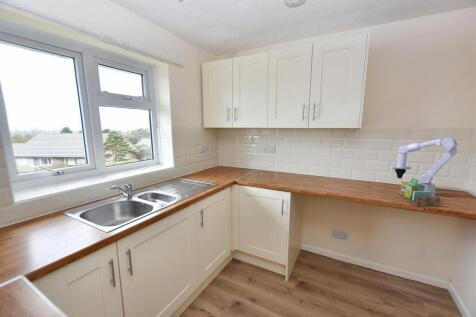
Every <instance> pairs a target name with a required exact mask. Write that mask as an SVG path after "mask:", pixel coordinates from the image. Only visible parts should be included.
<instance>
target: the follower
mask: <svg viewBox="0 0 476 317" xmlns="http://www.w3.org/2000/svg"><path fill="white" fill-rule="evenodd" d="M431 193H432V192H431V191H413V195H412V200H414V201H416V199H417V197H432V196H431Z"/></svg>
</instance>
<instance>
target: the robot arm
mask: <svg viewBox="0 0 476 317" xmlns="http://www.w3.org/2000/svg"><path fill="white" fill-rule="evenodd" d="M430 146H431V147H432V146H439V147H440V146H442V147H443V148H444V152H445V153H444V154H443V155H442V156H441V158H439V159H438V160H437V162H436V163H434V164H433V166H432V167H431V168H429V169H428V170H427V172H425V173H422V174H421V175H420V176H419V178H418V183H419V184H422V185H425V189H424V191H431V192H432V193H431V197H437V196H436V189H437V186H436V184H435V183H433V182H432V180H433V179H434V176H435V175H437V173H438V172H440V170H442V168H443V167H444V166H445V165H446V164H447V163H449V162H450V160H451V159H453V157H455V156H456V155H457V151H458V150H457V148H458V143H457V141H456V139H455V138H453V137H451V136H450V137H445V138H443V137H442V138H438V139H433V140H430V141H425V142H421V143H419V142H412V143H409V144H408V145H407V144H405V145H402V146H400V147H398V148H397V152H398V154H397V160H396V165H395V166H390V170H394V172H395V173H396V177H397V178H398V179H402V178H403V176H404V174H406V172H407V170H412V167H411V166H406V165H407V160H408V153H413V152H416V151H420V150H421V149H422V148H427V147H430Z"/></svg>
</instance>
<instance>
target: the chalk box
mask: <svg viewBox="0 0 476 317" xmlns="http://www.w3.org/2000/svg"><path fill="white" fill-rule="evenodd" d="M424 189H425V185H422V184H419V179H417V178H415V177H414V178H411V180H410V181H402V182H401V187H400V190H399V191H400V192H399V194H400V195H403V196H405V197H407V198H409V199H412V195H413V191H424Z"/></svg>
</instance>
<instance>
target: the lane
mask: <svg viewBox="0 0 476 317" xmlns="http://www.w3.org/2000/svg"><path fill="white" fill-rule="evenodd" d="M394 197H396V198H398V199H400V200H403V201H404V200H405V201H404V202H406V201H407V202H406V203H409V204H410V205H412V206H415V207H439V206H440V199H441V197H440V196H431V197H417V199H416V201H414V200H412V199H409V198H407V197H405V196H403V195H400V193H398V192H394Z"/></svg>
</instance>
